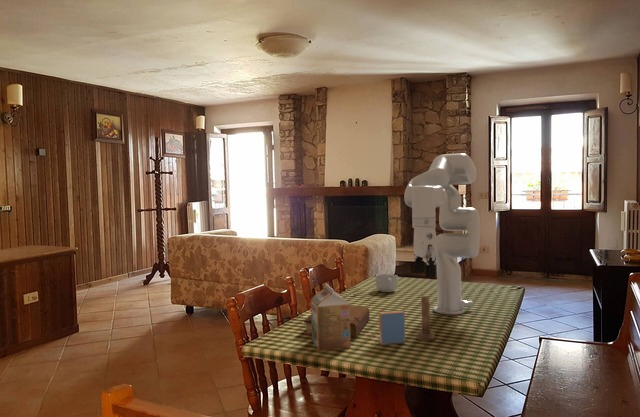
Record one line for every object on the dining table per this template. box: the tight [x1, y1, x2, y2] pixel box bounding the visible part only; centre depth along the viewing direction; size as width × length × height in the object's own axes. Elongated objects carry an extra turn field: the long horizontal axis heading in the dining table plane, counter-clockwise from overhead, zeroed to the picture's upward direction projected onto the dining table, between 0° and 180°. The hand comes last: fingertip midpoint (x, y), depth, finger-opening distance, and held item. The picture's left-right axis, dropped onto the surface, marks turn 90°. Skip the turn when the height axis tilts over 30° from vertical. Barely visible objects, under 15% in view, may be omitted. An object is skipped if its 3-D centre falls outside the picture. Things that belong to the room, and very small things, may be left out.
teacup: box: [375, 273, 399, 293], centre depth 228 cm, size 14×11×8 cm
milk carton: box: [310, 283, 352, 352], centre depth 153 cm, size 10×11×19 cm
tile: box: [378, 310, 406, 345], centre depth 153 cm, size 8×2×10 cm, turn 98°
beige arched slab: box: [303, 305, 370, 339], centre depth 172 cm, size 23×19×6 cm
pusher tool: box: [417, 295, 436, 342], centre depth 156 cm, size 6×6×14 cm
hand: (424, 274), depth 155 cm, fingers open, 9 cm apart
